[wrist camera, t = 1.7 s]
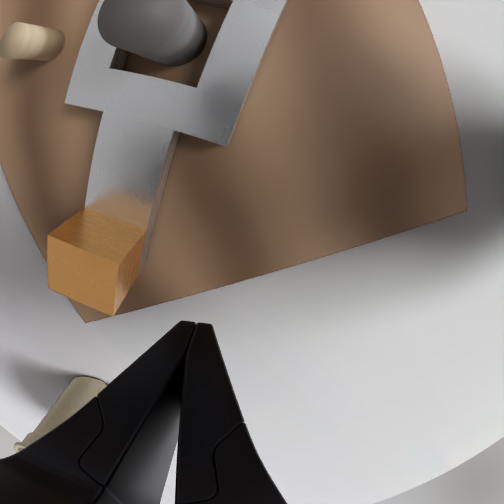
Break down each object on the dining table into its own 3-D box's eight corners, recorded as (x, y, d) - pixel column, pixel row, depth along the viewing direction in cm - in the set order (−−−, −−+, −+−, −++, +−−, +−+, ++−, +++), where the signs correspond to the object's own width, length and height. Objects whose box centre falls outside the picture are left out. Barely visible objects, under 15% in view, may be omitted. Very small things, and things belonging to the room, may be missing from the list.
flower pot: (40, 373, 21) (0, 445, 13) (89, 345, 18) (38, 445, 10) (113, 432, 24) (90, 502, 16) (178, 419, 22) (159, 511, 14)
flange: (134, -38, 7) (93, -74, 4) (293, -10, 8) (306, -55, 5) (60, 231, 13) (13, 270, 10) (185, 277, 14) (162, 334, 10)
